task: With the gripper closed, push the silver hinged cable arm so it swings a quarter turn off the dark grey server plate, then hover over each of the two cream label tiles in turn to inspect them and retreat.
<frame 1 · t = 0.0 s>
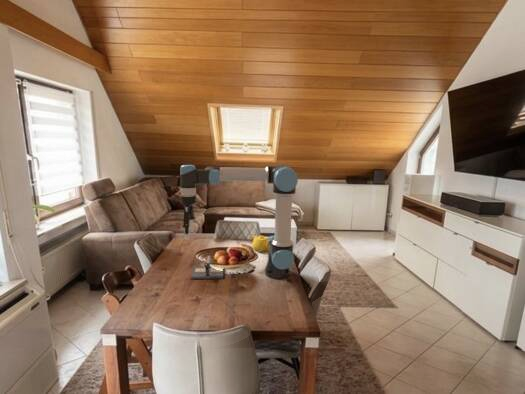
hand: (189, 235, 160), 28 cm above the table, fingers open, 13 cm apart
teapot: (261, 250, 219), on the table
server plate: (208, 273, 180), on the table
cable arm: (208, 261, 179), point 7 cm above the table, hinge at 0.0°
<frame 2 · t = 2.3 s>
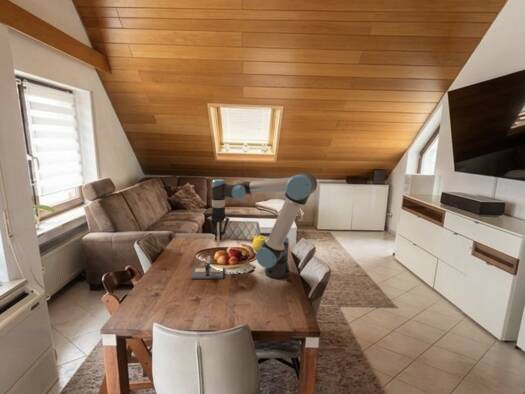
hand: (218, 245, 181), 16 cm above the table, fingers closed
nothing on the table moved.
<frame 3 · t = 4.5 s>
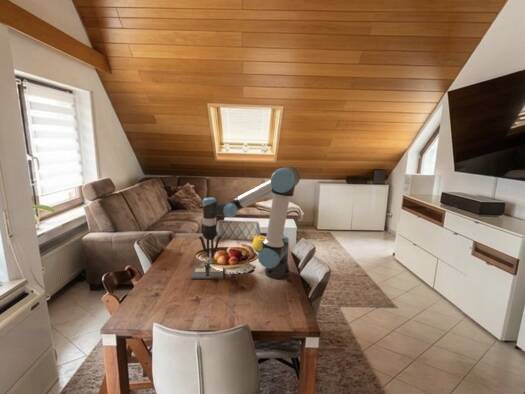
hand: (210, 262, 182), 6 cm above the table, fingers closed
cable arm: (207, 261, 179), point 7 cm above the table, hinge at 1.5°, touching gripper
everything else where it was.
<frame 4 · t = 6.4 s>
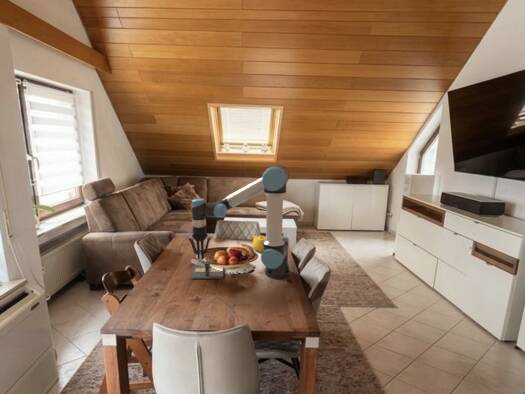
hand: (201, 264, 180), 5 cm above the table, fingers closed
cable arm: (200, 263, 177), point 7 cm above the table, hinge at 53.2°, touching gripper
everything else where it was.
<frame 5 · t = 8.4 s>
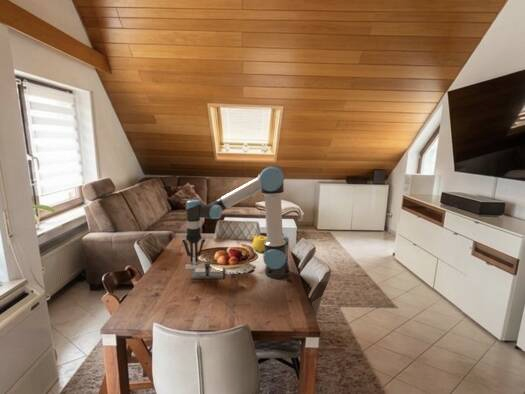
hand: (194, 266, 176), 5 cm above the table, fingers closed
cable arm: (197, 266, 173), point 7 cm above the table, hinge at 95.9°
everything else where it was.
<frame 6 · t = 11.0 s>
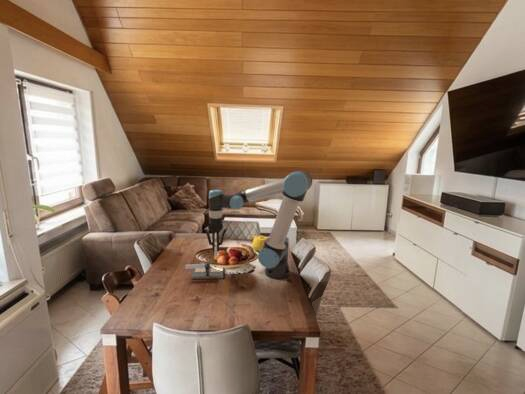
hand: (215, 255, 180), 10 cm above the table, fingers closed
nothing on the table moved.
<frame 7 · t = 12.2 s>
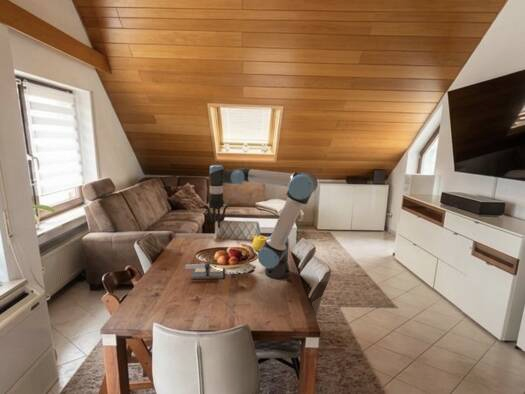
hand: (216, 233, 177), 24 cm above the table, fingers closed
nothing on the table moved.
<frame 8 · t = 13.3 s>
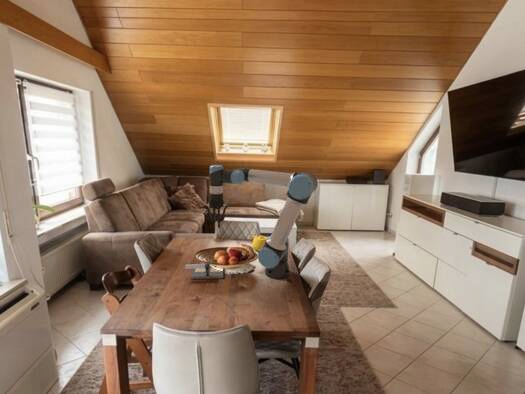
hand: (216, 233, 177), 24 cm above the table, fingers closed
nothing on the table moved.
at the end: cable arm at +96° (first picture: +0°) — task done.
